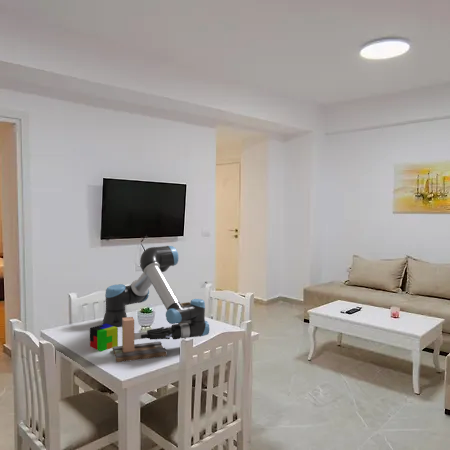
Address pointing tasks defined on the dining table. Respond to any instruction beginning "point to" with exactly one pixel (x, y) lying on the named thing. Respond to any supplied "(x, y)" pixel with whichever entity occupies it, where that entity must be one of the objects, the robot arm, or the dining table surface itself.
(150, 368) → the dining table surface
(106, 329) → the puzzle toy
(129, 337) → the salmon tan rectangular block
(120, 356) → the wooden plank board
